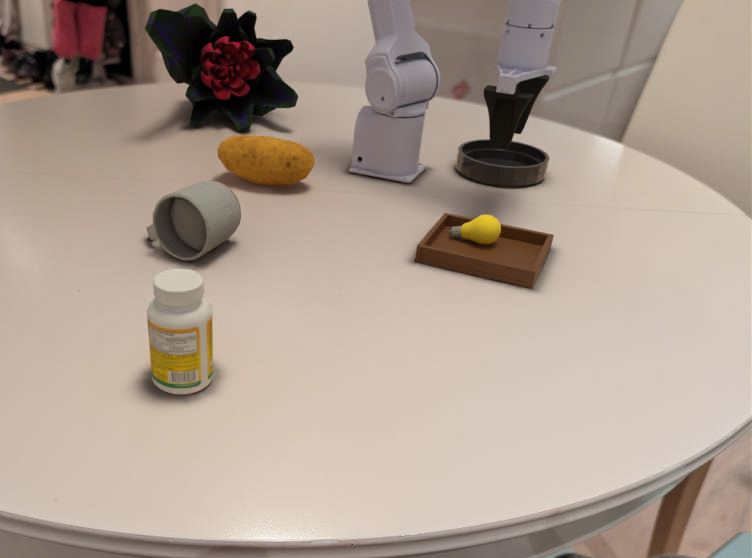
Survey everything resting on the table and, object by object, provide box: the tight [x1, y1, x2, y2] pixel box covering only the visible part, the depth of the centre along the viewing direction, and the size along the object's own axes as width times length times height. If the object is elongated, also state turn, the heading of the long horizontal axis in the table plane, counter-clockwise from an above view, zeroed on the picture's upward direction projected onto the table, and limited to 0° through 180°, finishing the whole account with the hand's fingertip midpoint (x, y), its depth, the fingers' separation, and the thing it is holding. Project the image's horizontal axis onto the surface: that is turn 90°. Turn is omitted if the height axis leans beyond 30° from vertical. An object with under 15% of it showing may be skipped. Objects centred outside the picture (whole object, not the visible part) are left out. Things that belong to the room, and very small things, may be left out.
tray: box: [414, 212, 555, 289], centre depth 86 cm, size 13×11×2 cm
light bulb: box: [449, 214, 501, 245], centre depth 88 cm, size 3×6×4 cm, turn 71°
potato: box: [216, 134, 316, 187], centre depth 103 cm, size 8×14×7 cm, turn 65°
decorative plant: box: [144, 3, 299, 133], centre depth 123 cm, size 21×26×30 cm
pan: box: [455, 138, 550, 188], centre depth 110 cm, size 13×13×3 cm
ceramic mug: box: [146, 180, 242, 262], centre depth 85 cm, size 11×8×8 cm
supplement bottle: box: [146, 268, 214, 395], centre depth 62 cm, size 5×5×10 cm
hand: (506, 140), depth 94 cm, fingers open, 7 cm apart
